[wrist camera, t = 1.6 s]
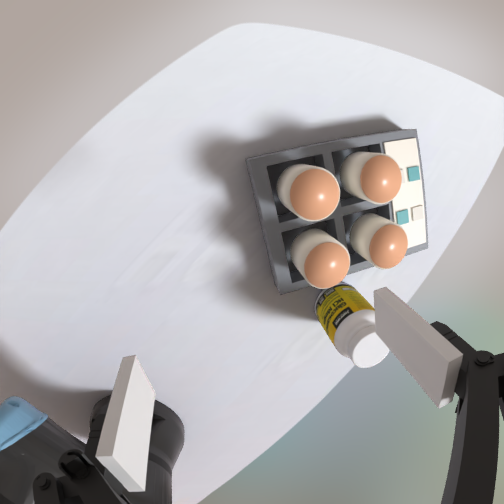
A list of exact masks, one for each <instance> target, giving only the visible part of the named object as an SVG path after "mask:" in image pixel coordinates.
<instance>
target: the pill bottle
mask: <svg viewBox="0 0 504 504" xmlns="http://www.w3.org/2000/svg"><path fill="white" fill-rule="evenodd" d="M315 314H316V316H317V318H318V320H319V322H320V323H321V325H322V327H323V328H324V330H325V331H326V333H327V335H328V336H329V338H330V340H331V341H332V343H333V344H334V346H335V348H336V349H337V350H338V352H339V353H340V354H341V355H343V356H345V357H348V358H350V359H351V360H352V361H353V363H354V364H355V365H356V366H358V367H362V368H367V367H371V366H374V365H376V364H378V363H379V362H381V361H382V360H383V359H384V358H385V357H386V355H387V354H388V352H389V350H390V349H389V348H388V347H387V346H386V345H385V344H384V342H383V341H382V340H381V339H380V338H379V337H378V335H377V334H376V333H375V309H374V308H373V307H372V306H371V305H370V304H369V303H368V302H367V300H366V299H365V298H364V297H363V296H362V295H361V294H360V293H359V292H358V291H357V290H356V289H355V288H354V287H353V286H351V285H349V284H347V283H338V284H337V285H335V286H333V287H331V288H326V289H324V290H323V291H322V292H321V293H320V294H319V296H318V297H317V300H316V302H315Z"/></svg>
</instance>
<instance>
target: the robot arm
mask: <svg viewBox="0 0 504 504" xmlns="http://www.w3.org/2000/svg"><path fill="white" fill-rule="evenodd" d="M374 308H375V333H376V334H377V335H378V337H379V338H380V339H381V340H382V341H383V342H384V344H385V345H386V346H387V347H388V348H389V349H390V350H391V352H392V353H393V354H394V355H395V356H396V358H397V359H398V360H399V361H400V362H401V364H402V365H403V366H404V367H405V368H406V369H407V371H408V372H409V373H410V374H411V375H412V376H413V378H414V379H415V380H416V381H417V383H418V384H419V385H420V386H421V387H422V389H423V390H424V391H425V392H426V394H427V395H428V396H429V397H430V398H431V400H432V401H433V402H434V403H435V405H436V406H437V407H438V408H441V407H442V406H444V405H446V404H448V403H450V402H451V401H452V400H453V397H454V393H456V394H457V395H458V396H459V401H458V404H457V407H456V411H455V413H457V419H456V427H455V434H454V441H453V449H452V454H451V460H450V465H449V470H448V475H447V480H446V485H445V489H444V494H443V498H442V501H441V504H492V503H493V497H494V490H495V481H496V472H497V461H498V445H499V406H500V409H501V412H502V416H503V420H504V353H502V354H498V355H493V354H492V353H490V352H488V351H476V350H474V348H472V347H471V346H470V345H469V344H468V343H467V342H466V341H464V340H463V339H462V338H461V337H460V336H458V335H457V334H456V333H455V332H453V330H451V329H450V328H449V327H448V326H447V325H445V324H443V323H440V322H437V321H436V322H434V323H432V324H429V323H428V322H426V321H425V320H424V319H423V318H422V317H421V316H420V315H418V314H417V313H416V312H415V311H414V310H413V309H412V308H410V307H409V306H408V305H407V304H406V303H405V302H403V301H402V300H401V299H400V298H399V297H398V296H396V295H395V294H394V293H393V292H392V291H390V290H389V289H388V288H387V287H384V288H381V289H378V290H375V291H374ZM155 394H156V392H155V391H154V389H153V387H152V385H151V383H150V381H149V380H148V378H147V376H146V374H145V372H144V370H143V368H142V366H141V364H140V362H139V360H138V358H137V356H136V355H133V356H128V357H123V359H122V362H121V365H120V369H119V372H118V375H117V378H116V382H115V385H114V388H113V392H112V395H111V396H108V397H105V398H103V399H102V400H100V401H99V402H98V403H97V404H96V405H95V407H94V409H93V412H92V415H91V418H90V434H89V439H88V441H87V444H85V443H83V442H82V441H80V440H79V439H77V438H76V437H74V436H73V435H71V434H70V433H68V432H67V431H66V430H64V429H63V428H61V427H60V426H59V425H57V424H56V423H55V422H53V421H52V420H51V419H49V418H48V415H47V414H46V413H42V412H41V411H39V410H38V409H36V408H35V407H34V406H32V405H31V404H30V403H28V402H27V401H26V400H24V399H23V398H20V397H17V396H13V397H9V398H7V399H6V400H5V401H4V402H3V403H2V404H1V405H0V504H172V469H173V467H174V465H175V463H176V461H177V459H178V456H179V454H180V452H181V450H182V448H183V445H184V426H183V423H182V421H181V419H180V418H179V417H178V416H177V414H176V413H175V412H174V411H172V410H171V409H170V408H168V407H167V406H165V405H164V404H162V403H160V402H158V401H156V400H155Z"/></svg>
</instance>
